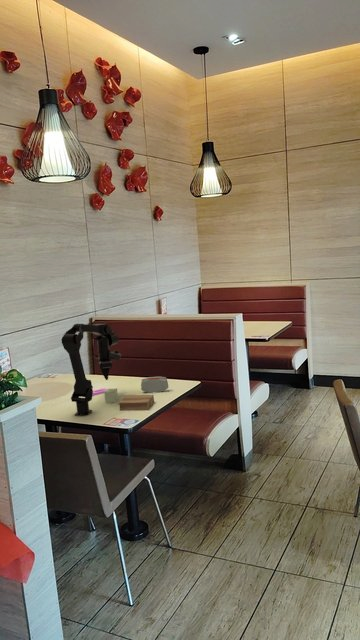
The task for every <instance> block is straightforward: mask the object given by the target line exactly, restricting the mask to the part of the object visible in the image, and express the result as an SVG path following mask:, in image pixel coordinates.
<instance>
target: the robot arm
mask: <svg viewBox="0 0 360 640" xmlns="http://www.w3.org/2000/svg"><path fill="white" fill-rule="evenodd" d="M77 333H78V334H77ZM84 333H92V334H93V335H95V338H94V341H97V342H96V343H97V352H98V353H97V354H98V357H97V362H98V364H99V365H98V366H99V370H100V372H101V373H102V375H103V377H104V379H105V380H106V381H108V380H109V375H110V370H111V369H112V367H113V362H112V360H115V361H117V362H120V361H121V358H122V354H121V353H119V350H114V351H111V349H110V347H111V346H114V345H117V344H119V339H120V338H119V337H118V335H117V334H116V333H115V331H112V329H111V327H110V325H109V324H108V323H94V324H85V323H75V324H73V326H72V327H71V328H70V329H68V330H66V332H64V334H63V335H62V338H61V341H60V342H61V345H62V346H63V349H64V350H65V351H66V352H67V354H68V356H69V360H70V364H71V369H72V372H73V375H74V381H75V382H74V385H73V392H72V394H71V397H70V400H71V403H73V402H74V403H75V405H76V412H75V414H74V416H88V415H89V414H90V413H92V411H93V410H92V409H90V407H89V402H91V401H93V396H92V394H93V391H94V390H93V388H94V387H93V384H92V380H91V379H87V377H86V374H85V369H84V366H83V365H84V364H83V361H82V360H83V359H82V356H81V353H80V350H81V347H82V341H83V339H84Z"/></svg>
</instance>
